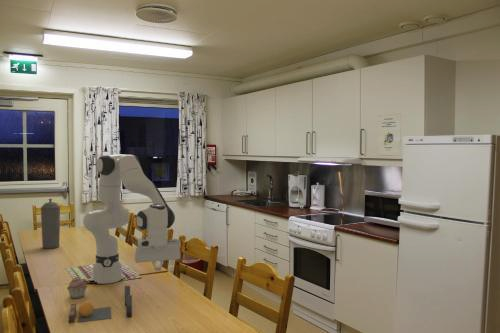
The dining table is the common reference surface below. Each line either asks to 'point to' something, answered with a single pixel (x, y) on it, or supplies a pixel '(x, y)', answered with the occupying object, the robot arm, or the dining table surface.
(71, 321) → the stopper wall
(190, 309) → the dining table surface
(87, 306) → the ball
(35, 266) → the dining table surface
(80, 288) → the cupcake
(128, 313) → the post
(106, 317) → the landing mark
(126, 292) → the post
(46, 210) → the canister
